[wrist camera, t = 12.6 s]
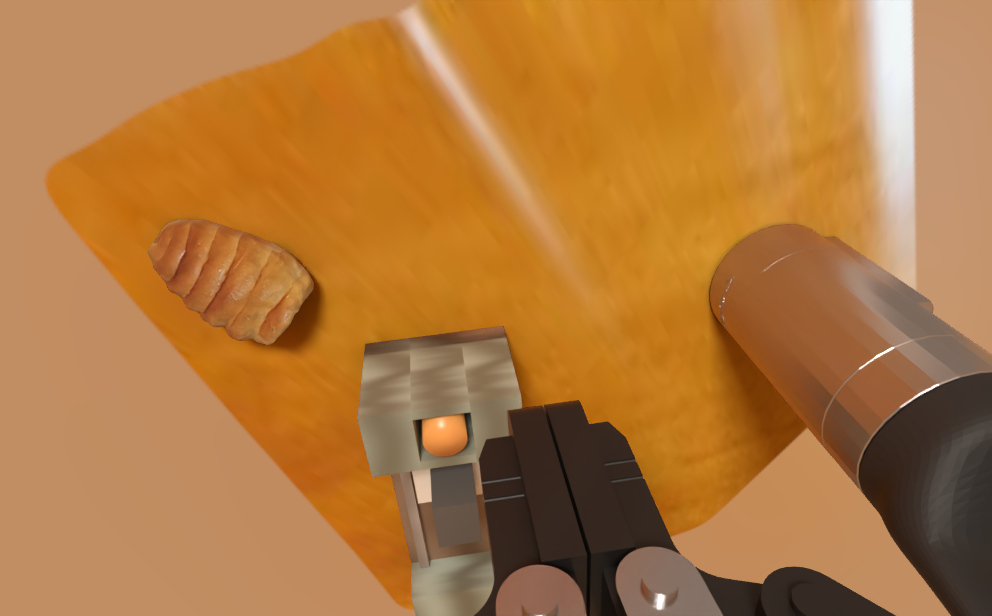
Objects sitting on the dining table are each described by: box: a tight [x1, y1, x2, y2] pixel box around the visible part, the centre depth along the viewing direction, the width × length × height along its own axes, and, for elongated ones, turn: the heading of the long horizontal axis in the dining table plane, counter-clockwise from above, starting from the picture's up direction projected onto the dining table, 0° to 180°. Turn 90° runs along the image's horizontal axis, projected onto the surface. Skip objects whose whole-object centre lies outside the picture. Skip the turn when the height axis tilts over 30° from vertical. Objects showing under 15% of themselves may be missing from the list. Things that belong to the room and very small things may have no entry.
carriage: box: [412, 462, 483, 548], centre depth 43 cm, size 6×6×7 cm
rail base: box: [358, 326, 522, 616], centre depth 47 cm, size 10×28×8 cm, turn 4°
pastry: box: [148, 219, 314, 345], centre depth 37 cm, size 9×7×4 cm
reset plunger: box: [422, 413, 467, 457], centre depth 40 cm, size 3×3×6 cm
